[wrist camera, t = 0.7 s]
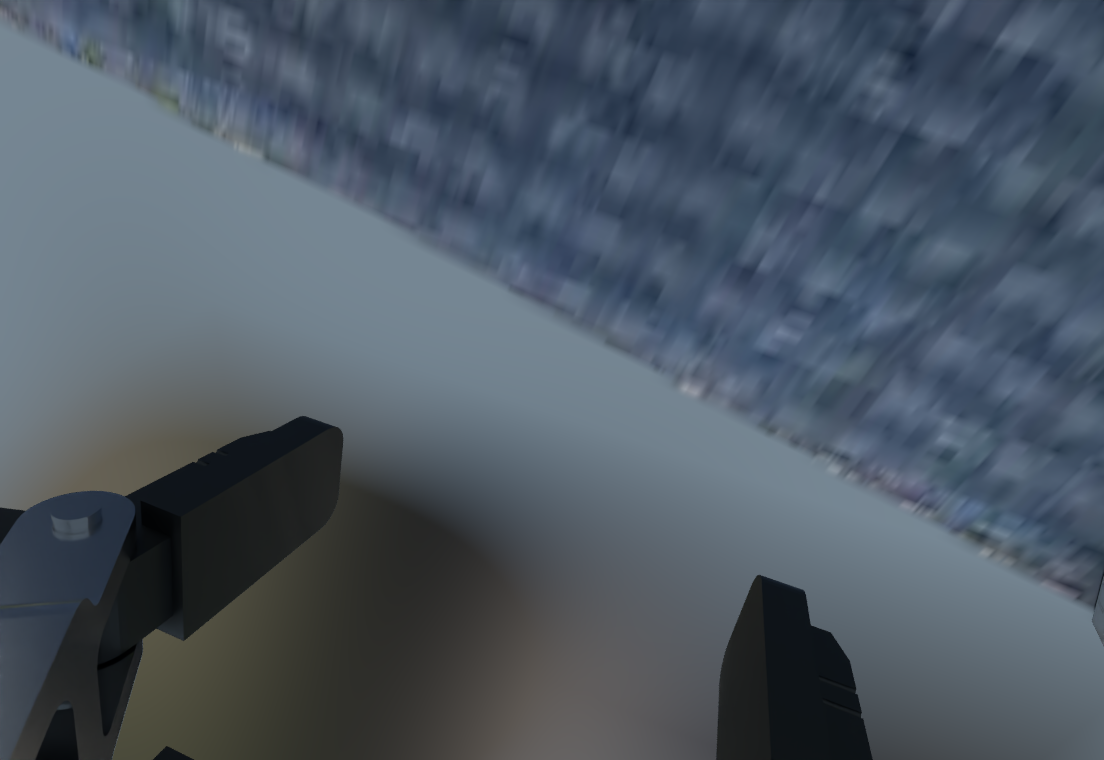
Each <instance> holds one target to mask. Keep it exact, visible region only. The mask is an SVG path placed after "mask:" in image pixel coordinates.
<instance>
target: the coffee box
mask: <svg viewBox="0 0 1104 760" xmlns="http://www.w3.org/2000/svg"><path fill="white" fill-rule="evenodd" d="M1092 622H1093V625H1094V627H1095V629H1096V631H1097V633H1098V635H1099V637H1100V639H1101V641H1102V643H1103V646H1104V577H1103V581H1102V585H1101V588H1100V592H1099V596H1098V600H1097V603H1096V607H1095V611H1094V615H1093V619H1092Z"/></svg>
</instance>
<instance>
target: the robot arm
mask: <svg viewBox="0 0 1104 760" xmlns="http://www.w3.org/2000/svg"><path fill="white" fill-rule="evenodd" d="M342 448H343V434H342V431H341V430H340V429H339V428H338V427H335V426H332V425H329V424H326V423H323V422H320V421H317V420H315V419H312V418H309V417H306V416H301V417H299V418H296V419H294V420H292V421H290V422H288V423H286V424H285V425H283V426H281V427H279V428H277V429H275V430H273V431H267V432H263V433H259V434H254V435H250V436H246V437H242V438H239V439H237V440H235V441H233V442H231V443H230V444H227V445H225V446H223V447H222V448H220V449H218V450H217V452H216V453H214V452H212V453H210V454H208V455H206V456H204V457H202V458H200V459H198V461H197V463H195V462H192V463H190V464H188V465H186V466H184V467H182V468H180V469H178V470H176V471H174V472H172V473H170V474H168V475H167V476H164V477H162V478H161V479H158V480H157V481H154V482H152V483H151V484H149V485H147V486H145V487H143V488H141V489H139V490H137V491H135V492H133V493H131V494H129V495H127V496H125V497H124V496H122V495H119V494H116V493H111V492H104V491H84V492H75V493H69V494H64V495H61V496H57V497H53V498H50V499H48V500H45V501H43V502H40V503H38V504H36V505H34V506H33V507H31V508H30V509H28V510H27V511H23V510H15V509H7V508H0V760H112V756H113V753H114V749H115V746H116V742H117V739H118V735H119V732H120V729H121V725H122V722H123V718H124V715H125V711H126V708H127V704H128V701H129V698H130V695H131V691H132V688H133V684H134V681H135V678H136V674H137V670H138V667H139V664H140V660H141V657H142V653H143V640H142V639H143V638H144V637H146V636H147V635H148V634H149V633H151V632H152V631H154V630H155V629H159V630H161V631H163V632H165V633H168V634H170V635H172V636H174V637H176V638H179V639H181V640H183V641H184V640H186V639H187V638H188V637H189V636H190V635H191V634H193V633H194V632H195V631H196V630H198V629H199V628H200V627H201V626H203V625H204V624H205V623H206V622H207V621H209V620H210V619H211V618H212V617H214V616H215V615H216V614H217V613H218V612H219V611H221V610H222V609H223V608H224V607H226V606H227V605H228V604H229V603H230V602H232V601H233V600H234V599H235V598H236V597H238V596H239V595H240V594H242V593H243V592H244V591H245V590H246V589H248V588H249V587H250V586H251V585H253V584H254V583H255V582H256V581H257V580H258V579H260V578H261V577H262V576H264V575H265V574H266V573H267V572H268V571H270V570H271V569H272V568H273V567H274V566H276V565H277V564H278V563H279V562H281V561H282V560H283V559H284V558H285V557H287V556H288V555H289V554H290V553H292V552H293V551H294V550H295V549H296V548H298V547H299V546H300V545H301V544H302V543H304V542H305V541H306V540H307V539H309V538H310V537H311V536H312V535H313V534H315V533H316V532H317V531H318V530H320V529H321V528H322V527H323V526H324V525H325V524H326V523H327V521H328V520H329V518H330V517H331V515H332V513H333V511H334V509H335V507H336V504H337V500H338V494H339V482H340V470H341V459H342ZM855 692H856V686H855V681H854V677H853V673H852V669H851V664H850V661H849V659H848V658H847V656H846V655H845V653H844V652H843V650H842V649H841V647H840V646H839V644H838V643H837V641H836V640H835V638H834V637H833V635H832V634H831V633H830V632H828V631H825V630H822V629H819V628H816V627H814V626H811V624H810V619H809V612H808V606H807V600H806V594H805V592H804V590H801V589H799V588H796V587H793V586H790V585H787V584H784V583H781V582H779V581H776V580H773V579H770V578H767V577H764V576H761V575H757V576H756V578H755V579H754V581H753V583H752V586H751V588H750V590H749V593H748V595H747V598H746V600H745V603H744V605H743V608H742V610H741V613H740V615H739V618H738V620H737V623H736V625H735V627H734V630H733V632H732V635H731V638H730V640H729V642H728V645H727V648H726V651H725V655H724V659H723V663H722V668H721V674H720V683H719V706H718V729H717V753H716V760H873V759H872V755H871V751H870V746H869V742H868V738H867V734H866V729H865V725H864V720H863V719H862V718H861V713H862V712H861V707H860V703H859V699H858V695H857V694H855ZM153 760H194V759H192V758H190V757H188V756H185V755H184V754H182V753H180V752H178V751H175V750H174V749H172V748H170V747H167V746H166V747H165V748H164V749H163V750H162V751H161V752H160V753H159V754H158V755H157V756H156V757H155V758H154V759H153Z"/></svg>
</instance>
